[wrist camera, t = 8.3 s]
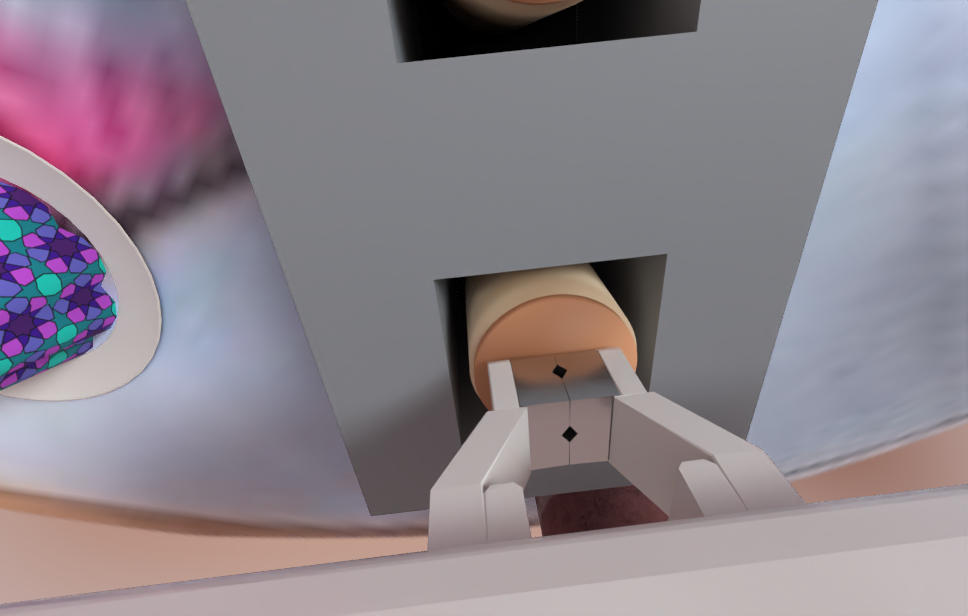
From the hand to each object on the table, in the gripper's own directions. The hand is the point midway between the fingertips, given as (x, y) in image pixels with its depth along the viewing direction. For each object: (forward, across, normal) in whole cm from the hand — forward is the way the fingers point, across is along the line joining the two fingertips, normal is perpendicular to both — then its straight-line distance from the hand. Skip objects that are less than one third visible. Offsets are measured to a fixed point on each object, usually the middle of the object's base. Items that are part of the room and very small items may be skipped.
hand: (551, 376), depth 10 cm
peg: (+8, 0, 0) cm, 8 cm away
